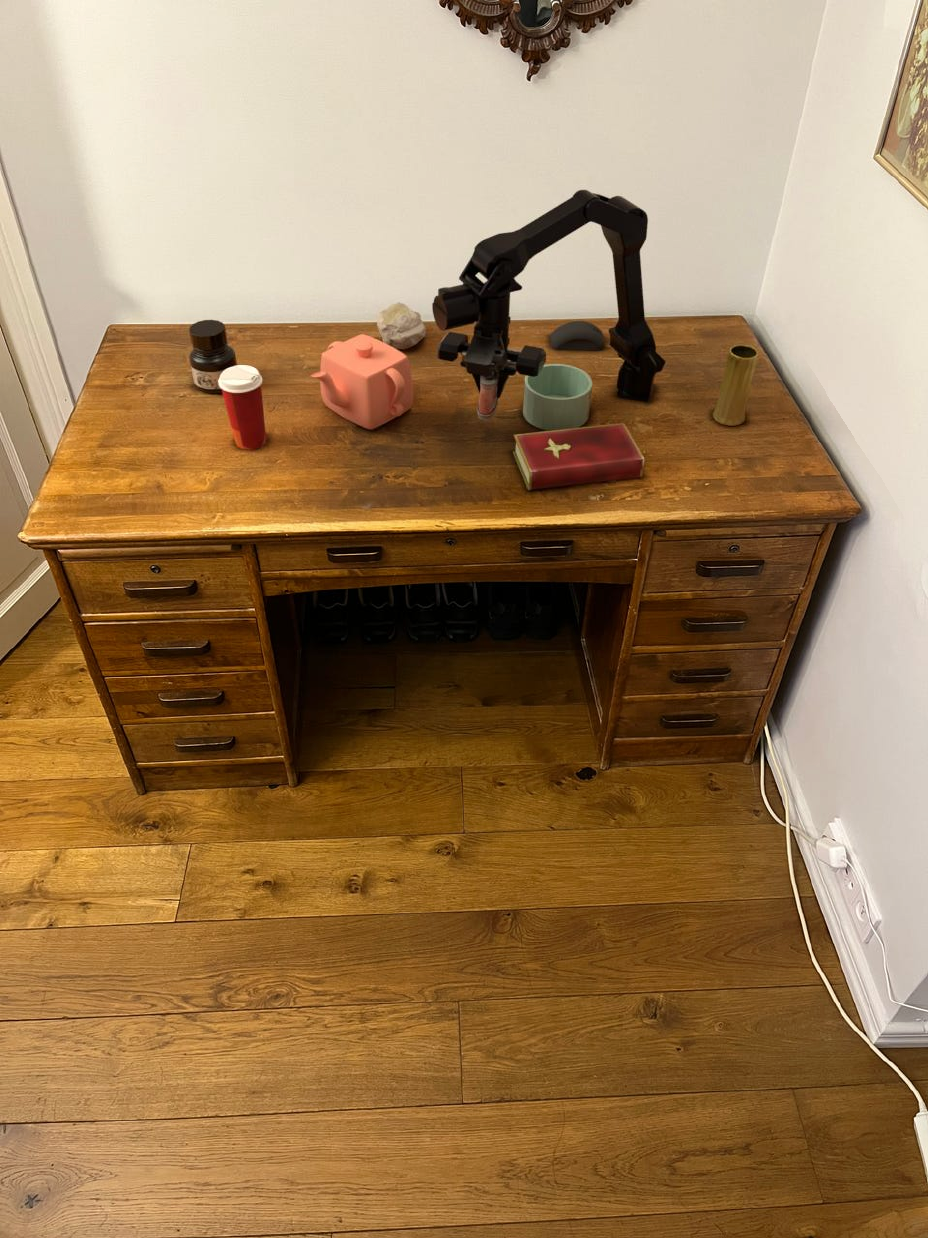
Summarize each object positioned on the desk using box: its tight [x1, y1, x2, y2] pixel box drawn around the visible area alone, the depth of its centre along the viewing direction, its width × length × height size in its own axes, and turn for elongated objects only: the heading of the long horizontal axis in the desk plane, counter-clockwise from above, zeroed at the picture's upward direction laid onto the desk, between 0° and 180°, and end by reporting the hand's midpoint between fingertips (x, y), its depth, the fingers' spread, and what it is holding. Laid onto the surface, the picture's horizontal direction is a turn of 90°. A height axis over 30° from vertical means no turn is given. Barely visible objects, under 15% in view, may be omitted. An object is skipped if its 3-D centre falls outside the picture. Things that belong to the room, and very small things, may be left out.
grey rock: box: [376, 301, 427, 350], centre depth 207 cm, size 12×8×10 cm
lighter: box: [477, 370, 499, 421], centre depth 179 cm, size 8×3×10 cm, turn 168°
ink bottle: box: [188, 319, 238, 394], centre depth 193 cm, size 10×9×12 cm
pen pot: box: [522, 363, 593, 431], centre depth 189 cm, size 13×13×7 cm
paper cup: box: [218, 364, 267, 451], centre depth 178 cm, size 8×8×14 cm
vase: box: [712, 344, 759, 427], centre depth 185 cm, size 6×6×14 cm
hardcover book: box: [512, 422, 646, 491], centre depth 177 cm, size 12×21×4 cm, turn 102°
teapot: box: [310, 333, 415, 430], centre depth 185 cm, size 20×19×14 cm
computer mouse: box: [550, 320, 605, 351], centre depth 209 cm, size 6×11×4 cm, turn 89°
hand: (490, 395), depth 180 cm, fingers closed on lighter, 3 cm apart
